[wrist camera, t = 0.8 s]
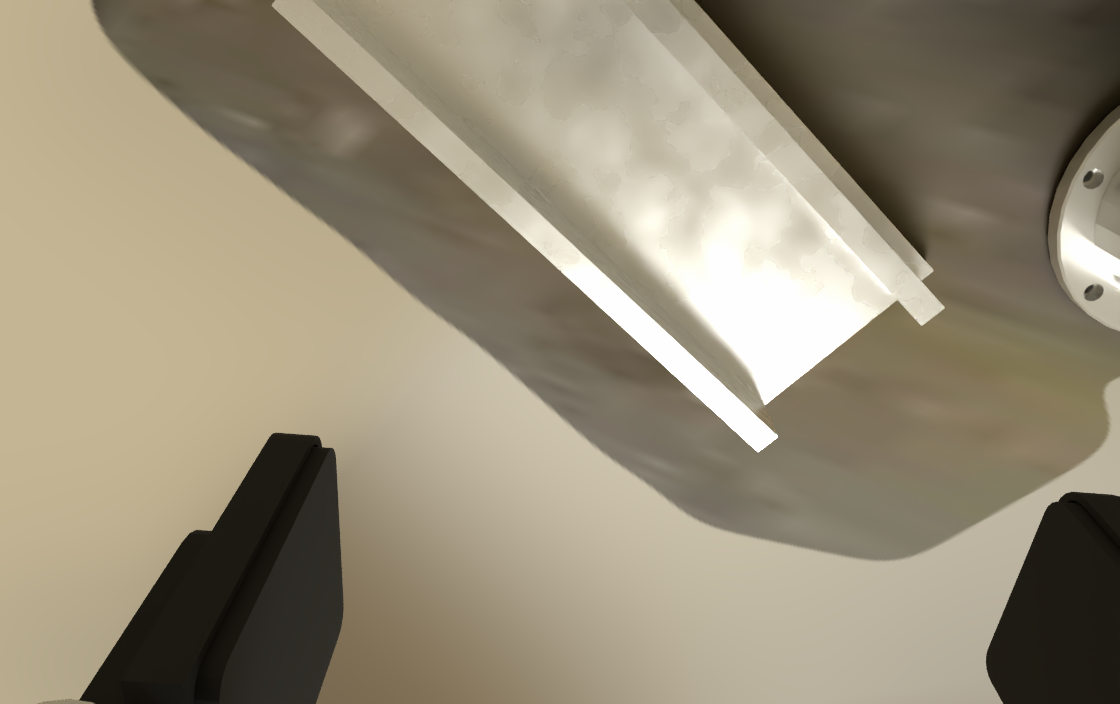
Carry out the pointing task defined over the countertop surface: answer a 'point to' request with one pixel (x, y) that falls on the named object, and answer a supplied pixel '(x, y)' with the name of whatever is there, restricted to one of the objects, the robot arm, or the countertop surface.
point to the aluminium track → (641, 176)
